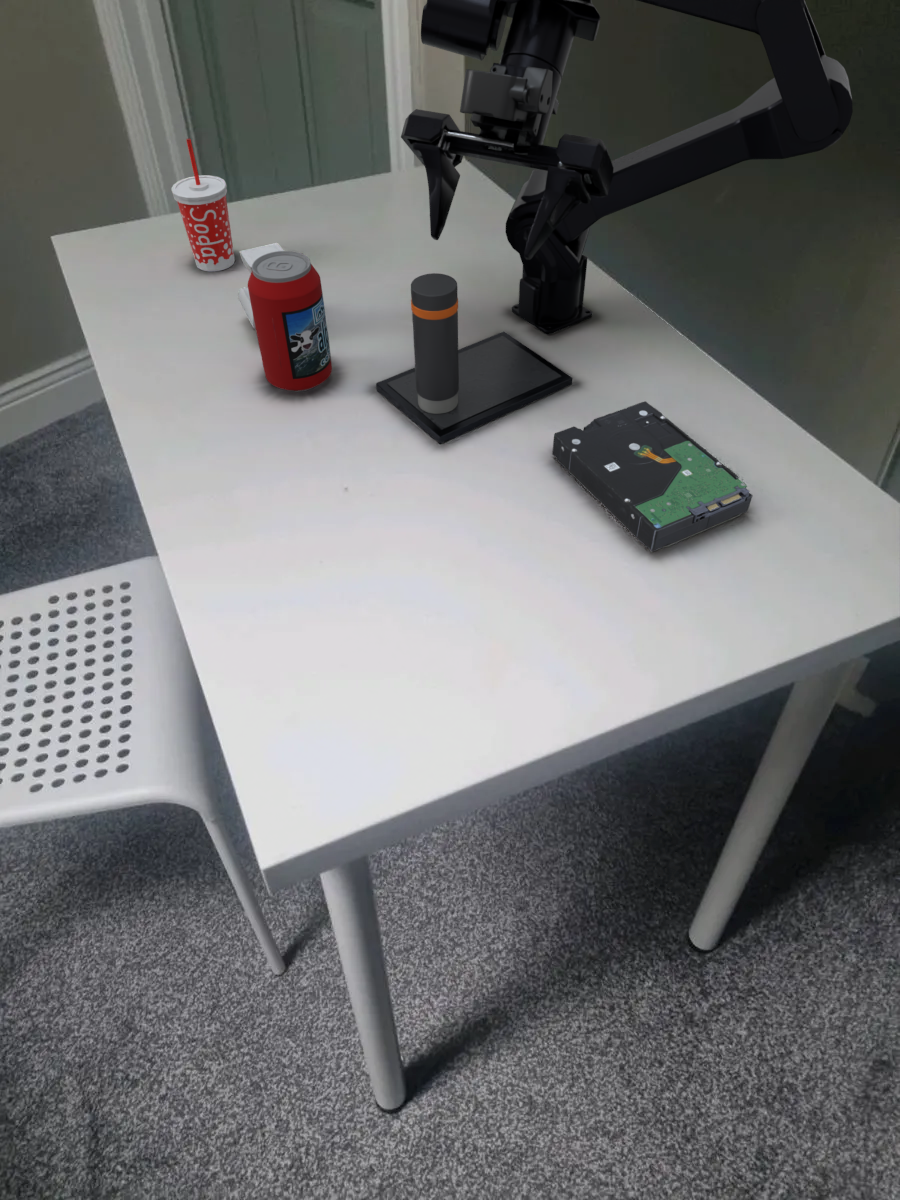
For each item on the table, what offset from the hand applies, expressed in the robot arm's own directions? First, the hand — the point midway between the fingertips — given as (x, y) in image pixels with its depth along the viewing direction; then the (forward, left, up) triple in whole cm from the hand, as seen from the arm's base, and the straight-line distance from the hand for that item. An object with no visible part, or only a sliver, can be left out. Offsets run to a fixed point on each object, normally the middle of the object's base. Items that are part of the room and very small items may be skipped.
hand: (479, 248), depth 81 cm
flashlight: (+7, +3, -12) cm, 14 cm away
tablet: (+2, +2, -13) cm, 13 cm away
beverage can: (+15, -10, -13) cm, 22 cm away
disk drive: (-1, +23, -13) cm, 27 cm away
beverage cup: (+11, -38, -13) cm, 42 cm away
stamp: (+12, -20, -13) cm, 27 cm away
